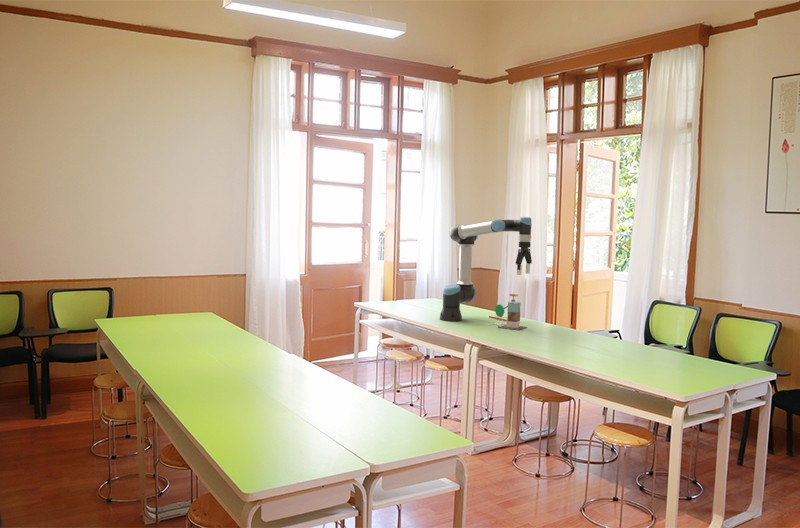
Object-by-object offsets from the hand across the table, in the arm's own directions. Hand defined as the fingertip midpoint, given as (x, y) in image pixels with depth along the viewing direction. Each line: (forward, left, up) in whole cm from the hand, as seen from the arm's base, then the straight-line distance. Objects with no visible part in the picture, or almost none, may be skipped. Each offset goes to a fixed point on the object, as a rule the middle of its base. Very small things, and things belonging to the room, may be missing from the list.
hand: (523, 274), depth 426 cm
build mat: (-4, -4, -35) cm, 35 cm away
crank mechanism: (-22, +21, -35) cm, 46 cm away
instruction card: (-14, +2, -35) cm, 37 cm away
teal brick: (-4, -4, -24) cm, 25 cm away
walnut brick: (-4, -4, -30) cm, 31 cm away
